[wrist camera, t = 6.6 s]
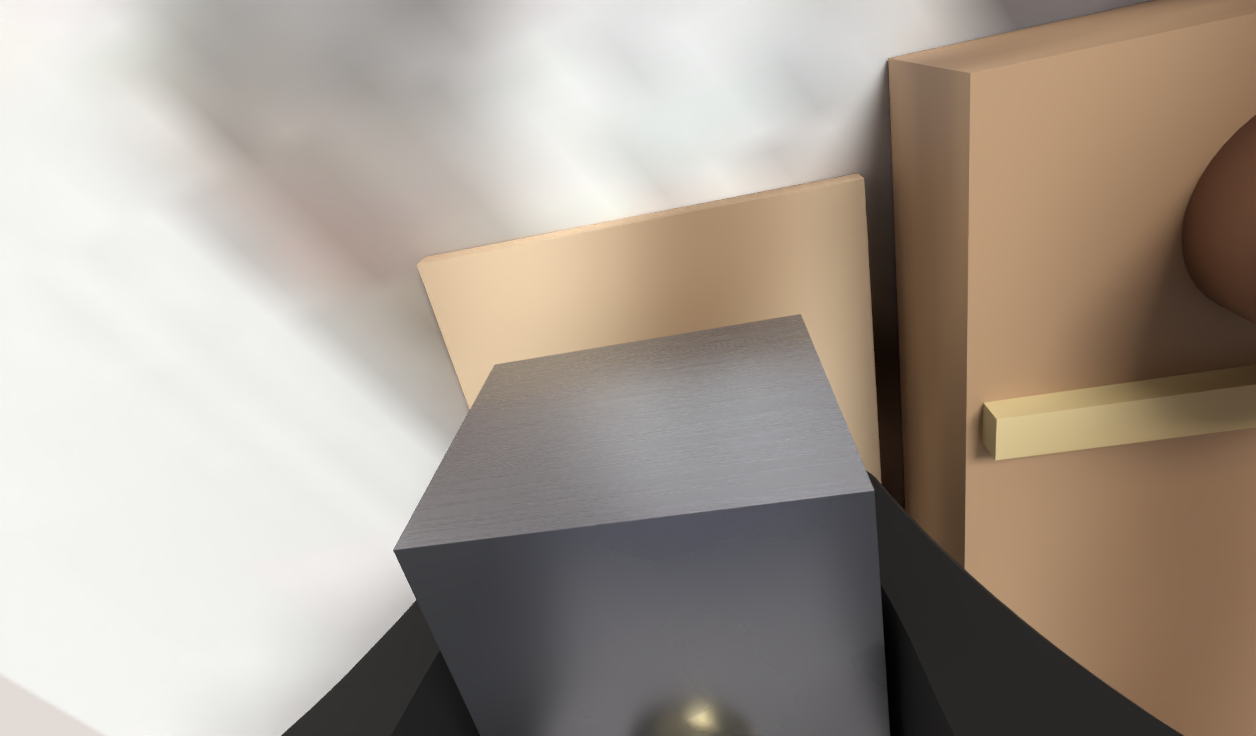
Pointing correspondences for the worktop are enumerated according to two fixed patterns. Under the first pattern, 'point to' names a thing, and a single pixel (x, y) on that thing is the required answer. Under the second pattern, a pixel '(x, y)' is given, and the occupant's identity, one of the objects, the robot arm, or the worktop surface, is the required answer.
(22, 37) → the worktop surface
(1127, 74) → the body
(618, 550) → the grey block with knob
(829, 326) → the cork trivet
